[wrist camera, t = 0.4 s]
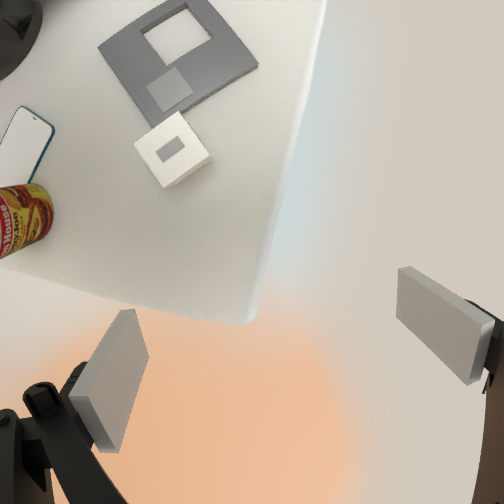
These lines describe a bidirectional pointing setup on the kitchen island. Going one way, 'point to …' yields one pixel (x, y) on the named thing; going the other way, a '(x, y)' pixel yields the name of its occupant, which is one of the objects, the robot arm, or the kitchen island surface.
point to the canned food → (23, 216)
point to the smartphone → (23, 147)
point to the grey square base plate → (176, 61)
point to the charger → (172, 150)
